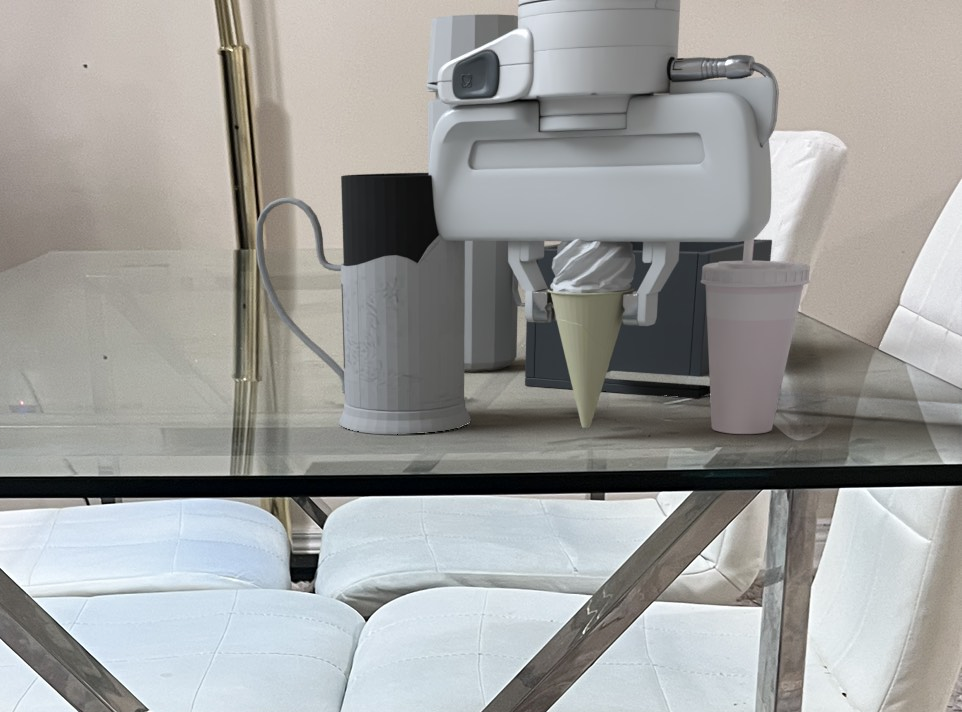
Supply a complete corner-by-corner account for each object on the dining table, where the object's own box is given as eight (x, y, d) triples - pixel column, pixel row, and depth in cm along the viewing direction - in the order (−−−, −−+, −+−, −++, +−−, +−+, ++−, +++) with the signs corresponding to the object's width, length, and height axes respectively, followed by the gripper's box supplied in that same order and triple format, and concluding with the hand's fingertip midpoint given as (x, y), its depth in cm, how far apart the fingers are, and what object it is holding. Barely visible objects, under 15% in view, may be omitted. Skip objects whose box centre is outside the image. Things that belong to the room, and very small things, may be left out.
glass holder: (452, 436, 87) (453, 175, 81) (241, 428, 91) (226, 178, 85) (484, 412, 95) (487, 171, 89) (288, 405, 99) (277, 174, 93)
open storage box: (760, 371, 109) (772, 239, 105) (698, 398, 98) (709, 253, 94) (598, 361, 115) (604, 236, 111) (524, 385, 105) (527, 248, 101)
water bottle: (408, 369, 113) (404, 18, 103) (459, 357, 119) (461, 23, 108) (507, 378, 108) (514, 10, 98) (555, 364, 114) (567, 16, 104)
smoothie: (714, 415, 92) (732, 185, 86) (809, 424, 89) (835, 185, 83) (673, 432, 87) (689, 189, 82) (772, 442, 84) (796, 189, 78)
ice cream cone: (619, 437, 83) (631, 161, 77) (536, 433, 85) (541, 163, 79) (635, 421, 87) (647, 159, 81) (555, 418, 89) (562, 161, 83)
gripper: (799, 53, 75) (777, 322, 81) (465, 74, 85) (466, 312, 91) (762, 49, 70) (741, 336, 76) (412, 72, 80) (417, 323, 86)
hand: (589, 323), depth 84 cm, fingers closed on ice cream cone, 5 cm apart
